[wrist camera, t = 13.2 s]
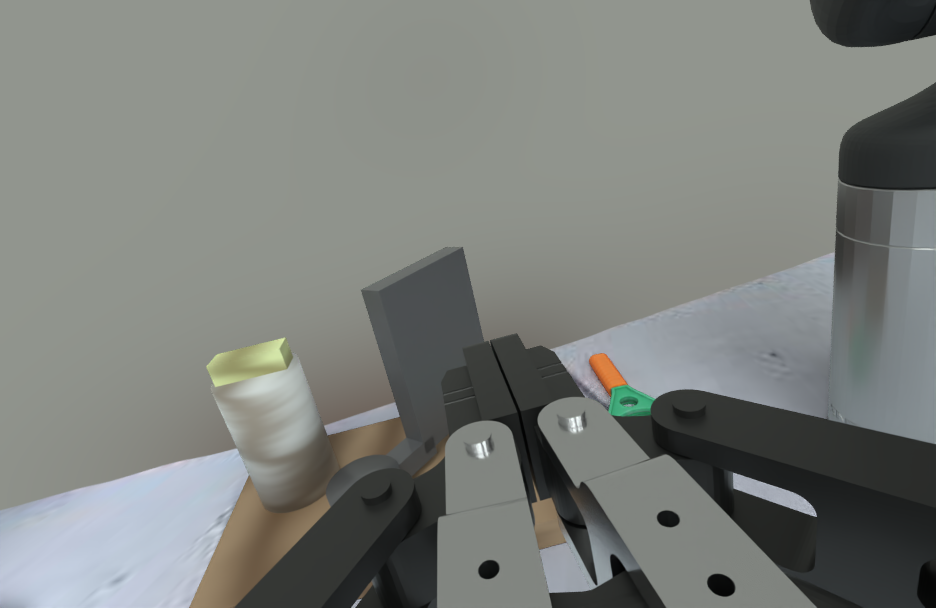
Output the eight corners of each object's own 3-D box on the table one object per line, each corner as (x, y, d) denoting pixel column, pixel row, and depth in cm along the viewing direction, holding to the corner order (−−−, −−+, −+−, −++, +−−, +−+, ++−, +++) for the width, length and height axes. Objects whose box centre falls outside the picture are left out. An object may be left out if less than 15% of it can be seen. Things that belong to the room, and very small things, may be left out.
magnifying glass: (708, 456, 35) (707, 437, 35) (625, 474, 35) (623, 455, 35) (628, 362, 49) (627, 346, 49) (569, 375, 50) (567, 360, 49)
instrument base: (524, 404, 46) (495, 265, 41) (584, 537, 30) (550, 341, 26) (266, 471, 44) (207, 336, 40) (197, 643, 29) (89, 458, 25)
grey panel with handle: (467, 393, 45) (430, 247, 40) (512, 404, 42) (479, 246, 37) (322, 520, 34) (247, 337, 29) (369, 547, 31) (294, 346, 26)
